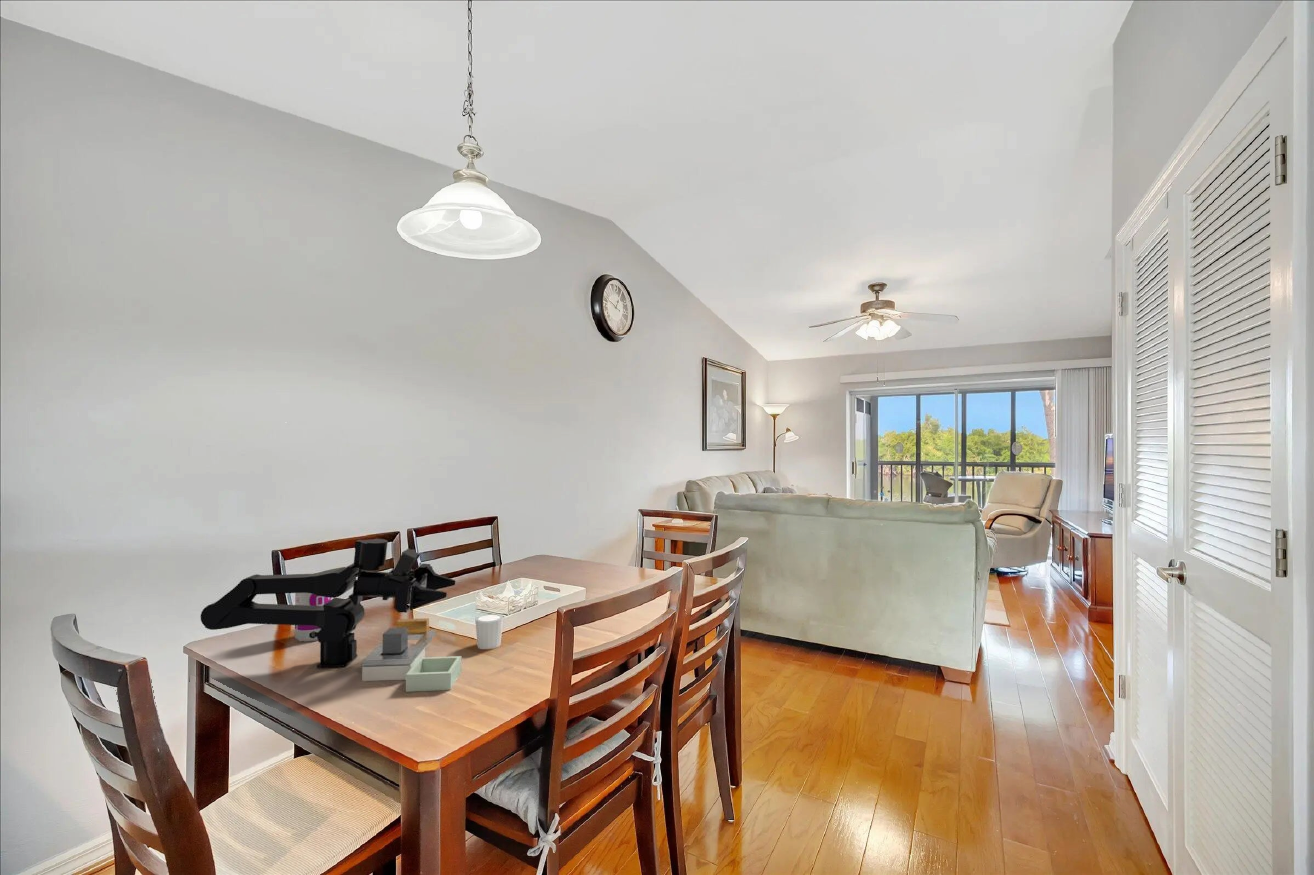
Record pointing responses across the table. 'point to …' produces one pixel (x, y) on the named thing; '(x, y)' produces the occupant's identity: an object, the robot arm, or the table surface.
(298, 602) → the supplement can
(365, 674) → the socket block
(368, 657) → the plate
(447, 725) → the table surface
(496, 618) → the white cup
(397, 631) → the peg
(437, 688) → the open box
